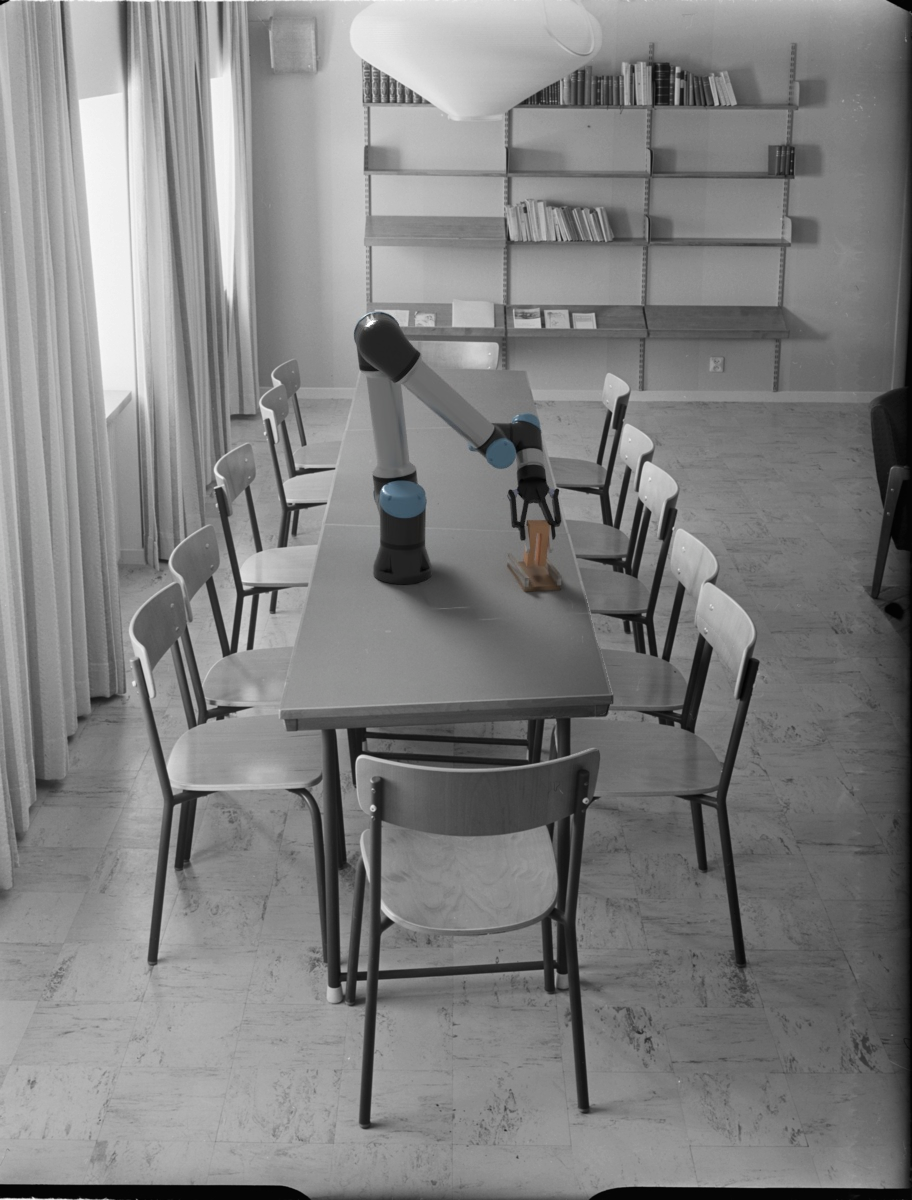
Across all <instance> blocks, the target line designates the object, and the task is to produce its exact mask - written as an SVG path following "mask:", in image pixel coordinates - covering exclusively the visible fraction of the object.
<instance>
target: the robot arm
mask: <svg viewBox="0 0 912 1200" xmlns="http://www.w3.org/2000/svg"><path fill="white" fill-rule="evenodd" d="M354 327H355V328H354V331H353V340H354V343H355V345H356V353H357V359H358V369H359V371H360V372H361V373H363V375H364V376H366V377H365V379H366V386H367V392H368V394H367V395H368V402H369V409H370V418H371V426H372V435H373V442H374V450H375V460H376V466H375V467H374V469H373V470H372V471H371V473H372V482H373V493H372V495H373V500H374V502H375V505H376V508H377V510H378V511H377V512H378V515H379V548H378V551H377V554H376V557H375V560H374V562H373V566H372V567H373V568H372V569H373V572H372V573H373V577H375V578H376V579H377V580H379V581H381V582H384V583H389V584H395V585H411V584H412V585H413V584H418V583H422V582H425V581H427V580H428V579H430V578H431V576H432V574H433V573H432V571H433V570H432V569H433V568H432V566H433V565H432V563H431V559H430V556H429V554H428V550H427V547H426V524H427V523H426V520H427V519H426V513H427V512H426V509H427V496H426V490H425V489H424V487H423V486H422V485H420V484H418V483H419V481H418V472H417V466H416V465H414V463H412V462H411V461H410V454H409V453H410V452H409V444H408V443H409V442H408V435H407V426H406V425H407V424H406V418H405V416H406V415H405V408H404V399H403V388H402V386H403V387H405V389H407V390H408V391H409V392H410V393H412V394H413V395H414V396H415V397H416V398H417V399H419V401H421V402H422V403H423V405H425V406H426V407H427V408H429V409H430V410H431V412H432V413H434V414H435V415H436V416H437V417H438V418H440V419H441V420H442V421H443V422H444V423H445V424H446V425H447V426H449V427H450V428H451V429H452V430H453V431H455V432H456V434H457V435H459V436H460V437H461V438H462V439H463V440H464V441H466V442H467V447H468V449H469V451H470V452H477V453H479V454H480V455H481V456H482V457H483V458H484V459H486V462H487V463H488V464H489V465H490V466H492V467H493V468H494V469H498V470H503V469H508V468H509V467H510V466H512V465H513V464H514V462H515V469H516V479H517V486H516V487H517V488H516V489H509V490H507V495H506V496H507V499H508V501H509V507H510V522H511V528H514V529H515V528H516V529H517V530H518V531H519V539H520V540H521V541H522V542H523V541H524V546H525V551H526V554H529V551H530V542H529V533H528V526H526V521H527V515H528V514H527V513H528V511H529V510H528V509H529V504H538V507H539V508H540V510H541V512H542V514H543V516H544V520H546V521H547V523H548V524H549V525H550V530H549V540H548V550H547V552H548V554H552V553H553V551H554V543H553V541H554V540H555V539H556V536H557V535H556V534H557V533H556V528H558V527H560V525H561V524H562V515H561V508H560V507H561V506H560V502H559V495H560V489H559V488H555V489H553V488H550V486H549V485H548V481H547V475H546V474H547V473H546V468H545V467H546V463H545V456H544V451H543V449H544V448H543V439H542V429H541V425H540V419H539V418H538V416H536V415H535V414H533V413H531V412H530V413H529V412H526V413H525V412H523V413H522V414H517V415H515V416H514V417H513V418H512V420H511V422H506V423H505V422H490V421H489V420H488V419H487V418H486V417H485V416H484V415H483V414H482V413H481V412H479V411H478V409H476V408H475V407H474V406H473V405H472V404H471V403H469V401H468V400H466V399H465V398H464V397H463V396H462V395H461V394H460V393H459V392H458V391H457V390H455V389H454V388H453V387H452V386H451V385H450V384H449V383H448V382H447V381H445V379H443V378H442V377H441V376H440V375H439V374H438V373H437V372H436V371H435V370H434V369H432V368H431V367H430V366H429V365H428V364H427V363H426V362H425V361H424V360H422V353H421V352H420V351H419V350H417V349H416V347H415V346H414V345H413V344H412V343H411V342H410V341H409V339H408V338H407V336H406V335H405V334H404V332H403V330H402V328H401V327H400V323H399V321H398V320H397V319H396V318H395V317H394V316H392V315H391V314H389V313H386V312H384V311H380V310H379V311H377V310H375V311H371V312H368V313H366V314H364V315H363V316H361V318H359V320H358V321H357V322H356V324H355V326H354ZM548 494H549V497H550V498H551V505H552V512H553V515H552V513H551V510H550V508H549V505H548V503H547V500H546V496H547V495H548ZM518 496H519V497H520V498H521V500H523V503H522V510H521V515H520V520H518V511H517V510H518V509H517V497H518Z"/></svg>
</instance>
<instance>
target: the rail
mask: <svg viewBox="0 0 912 1200" xmlns="http://www.w3.org/2000/svg"><path fill="white" fill-rule="evenodd" d="M506 567H507V569H508V570H509V571H510V572H511V574H512V575H513V577H514V579H515V581H516V582H517V583H518V584H519V586H520V587H521V589H522V590H523V592H525V593H526V592H541V591H542V592H543V591H544V592H545V591H560V590H562V578H563V577H562V575H561V574H560V572H559V571H558V569H557V568H556V567H555V565H554V564H553V563H552V561H550V559H549V557H547V560H546V567H539V566H538V564H537V562H536V561H535V560H534V567H527V566H526V564H525V563H524V561H523V560H522V561H518V560H517V559H516V558H515V556H514V554H513V553H512V552H508V553H507V564H506Z"/></svg>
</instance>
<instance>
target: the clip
mask: <svg viewBox="0 0 912 1200" xmlns="http://www.w3.org/2000/svg"><path fill="white" fill-rule="evenodd" d="M525 526H528V533H529V542H530V551H529V554H526V551H525V545H524V546H523V547H524V548H523V558H522V561H524V563H525V564H526V566H527V567H534V561H536V562H537V564H538V566H539V567H546V560H547V558H548V540H549V530H550V525H549V524H548V523H547V521H546V520H545V519H544V520H543V519H526V523H525Z"/></svg>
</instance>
